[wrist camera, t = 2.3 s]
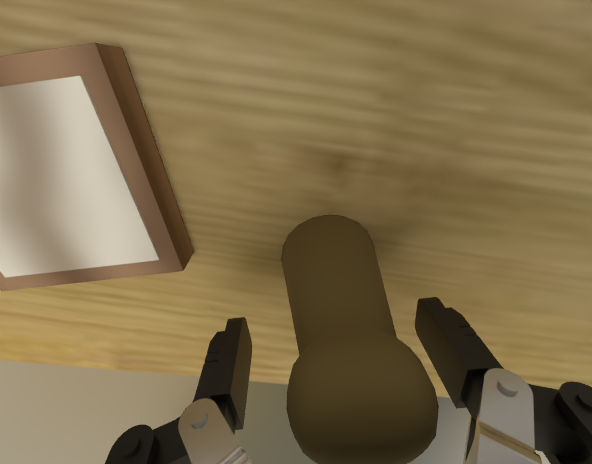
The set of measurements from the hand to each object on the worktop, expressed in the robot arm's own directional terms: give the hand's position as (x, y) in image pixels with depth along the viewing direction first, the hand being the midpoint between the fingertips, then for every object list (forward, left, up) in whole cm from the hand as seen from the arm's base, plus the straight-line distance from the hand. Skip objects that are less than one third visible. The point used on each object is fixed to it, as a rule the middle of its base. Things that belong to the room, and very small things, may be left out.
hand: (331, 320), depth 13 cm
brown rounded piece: (-1, 0, -6) cm, 6 cm away
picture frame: (+13, -7, -6) cm, 16 cm away
